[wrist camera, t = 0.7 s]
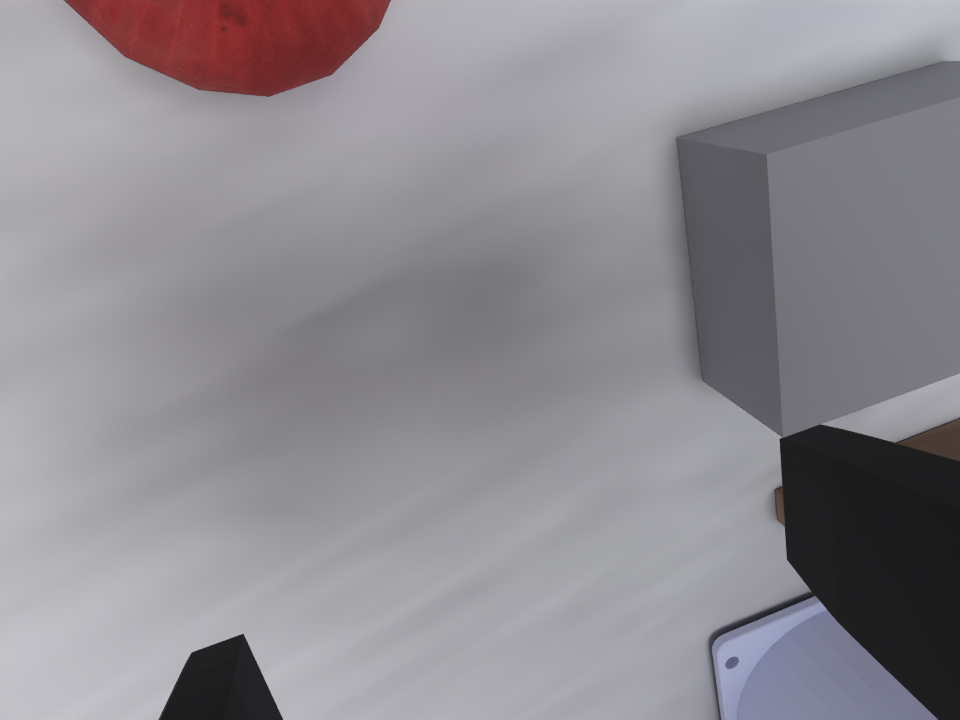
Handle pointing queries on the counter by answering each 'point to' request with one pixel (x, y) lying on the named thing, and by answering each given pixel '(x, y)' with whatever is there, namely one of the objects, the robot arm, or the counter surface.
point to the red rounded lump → (236, 38)
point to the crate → (828, 248)
